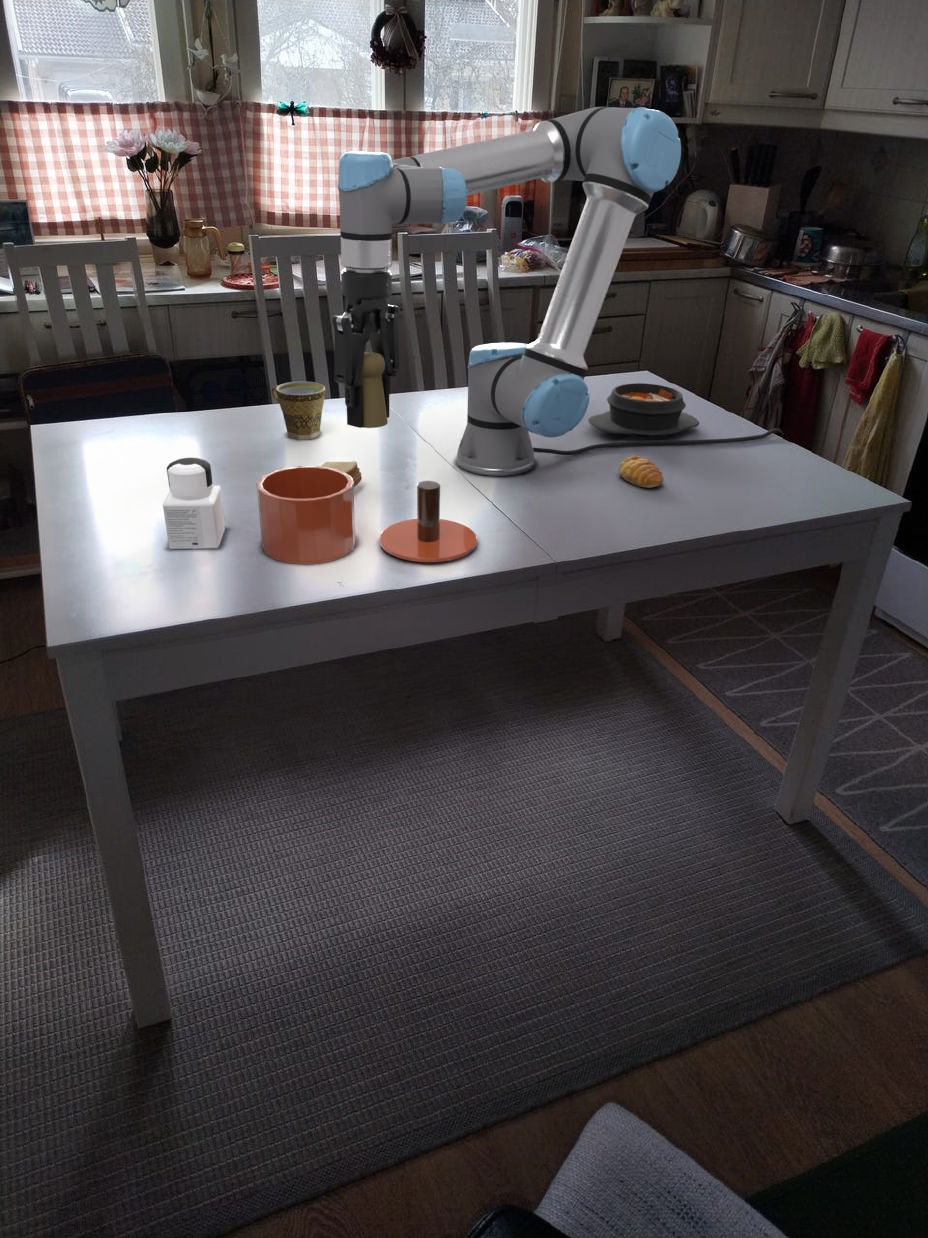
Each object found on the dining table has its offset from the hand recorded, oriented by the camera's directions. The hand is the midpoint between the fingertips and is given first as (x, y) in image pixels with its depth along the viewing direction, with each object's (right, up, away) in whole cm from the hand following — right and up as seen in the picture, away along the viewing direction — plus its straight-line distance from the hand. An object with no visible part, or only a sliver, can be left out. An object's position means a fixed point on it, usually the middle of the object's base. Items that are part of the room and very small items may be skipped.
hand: (368, 420), depth 148 cm
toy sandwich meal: (-10, -8, +21) cm, 24 cm away
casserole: (+55, +10, +55) cm, 78 cm away
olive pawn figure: (0, 0, 0) cm, 0 cm away
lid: (+10, -19, 0) cm, 22 cm away
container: (-27, -19, 0) cm, 33 cm away
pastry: (+49, -5, +28) cm, 57 cm away
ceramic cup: (-20, +7, +47) cm, 51 cm away
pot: (-9, -20, 0) cm, 22 cm away
